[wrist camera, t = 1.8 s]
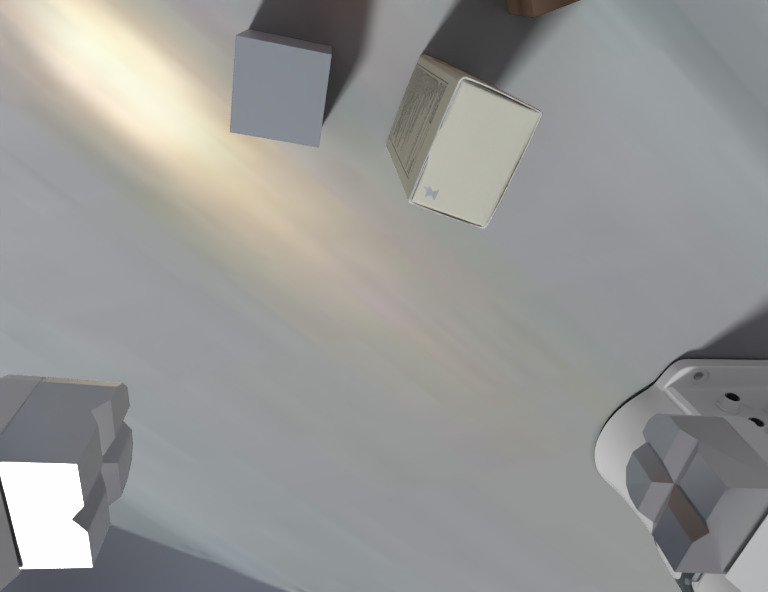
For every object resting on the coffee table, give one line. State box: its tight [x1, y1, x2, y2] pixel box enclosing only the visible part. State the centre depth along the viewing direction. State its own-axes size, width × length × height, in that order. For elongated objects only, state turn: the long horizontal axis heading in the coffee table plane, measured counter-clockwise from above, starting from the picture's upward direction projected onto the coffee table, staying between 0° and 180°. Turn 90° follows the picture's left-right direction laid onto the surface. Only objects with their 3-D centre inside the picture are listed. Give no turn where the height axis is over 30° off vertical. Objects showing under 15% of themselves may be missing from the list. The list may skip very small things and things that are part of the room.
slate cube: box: [230, 29, 332, 147], centre depth 32 cm, size 5×5×5 cm
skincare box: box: [386, 54, 542, 229], centre depth 31 cm, size 6×4×12 cm
